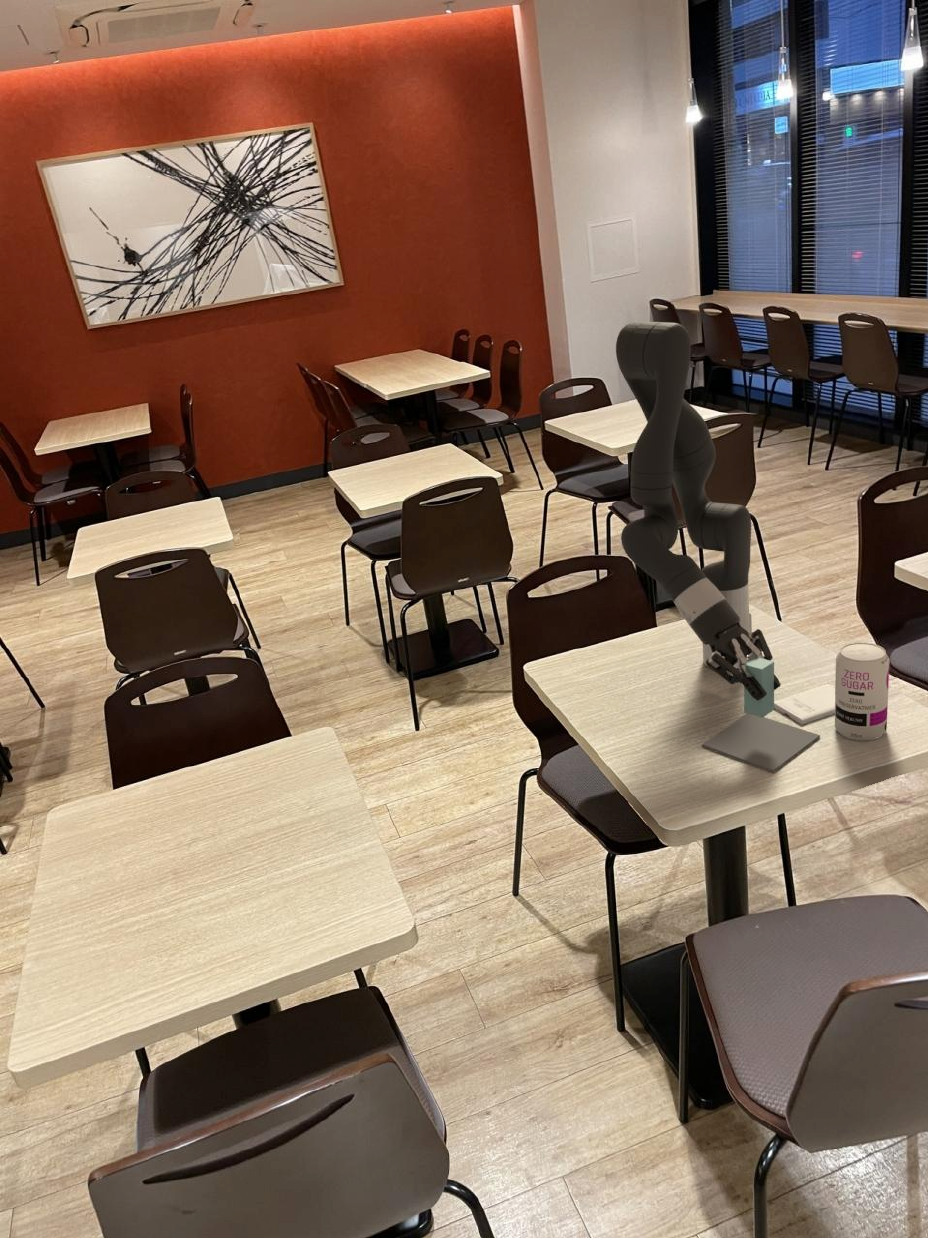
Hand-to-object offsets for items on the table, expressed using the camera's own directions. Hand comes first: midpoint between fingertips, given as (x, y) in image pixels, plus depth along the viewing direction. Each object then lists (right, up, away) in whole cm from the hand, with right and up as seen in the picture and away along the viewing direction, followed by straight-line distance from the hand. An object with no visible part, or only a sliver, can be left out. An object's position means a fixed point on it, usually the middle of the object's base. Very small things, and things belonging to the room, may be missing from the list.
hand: (769, 692), depth 156 cm
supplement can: (+17, -7, +5) cm, 19 cm away
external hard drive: (+13, -4, +15) cm, 20 cm away
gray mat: (0, -9, +5) cm, 10 cm away
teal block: (-1, -3, +3) cm, 4 cm away
